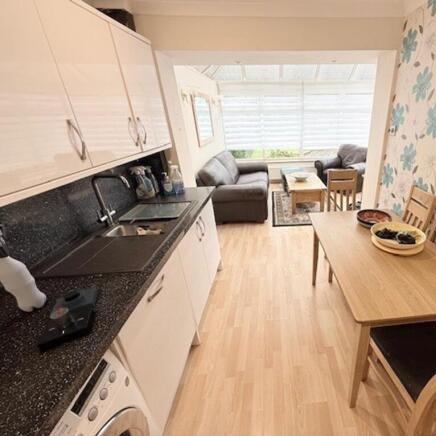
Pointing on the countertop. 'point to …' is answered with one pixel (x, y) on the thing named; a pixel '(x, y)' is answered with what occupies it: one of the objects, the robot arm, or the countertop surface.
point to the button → (71, 295)
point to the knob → (62, 318)
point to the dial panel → (67, 330)
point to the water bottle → (20, 284)
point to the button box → (78, 301)
